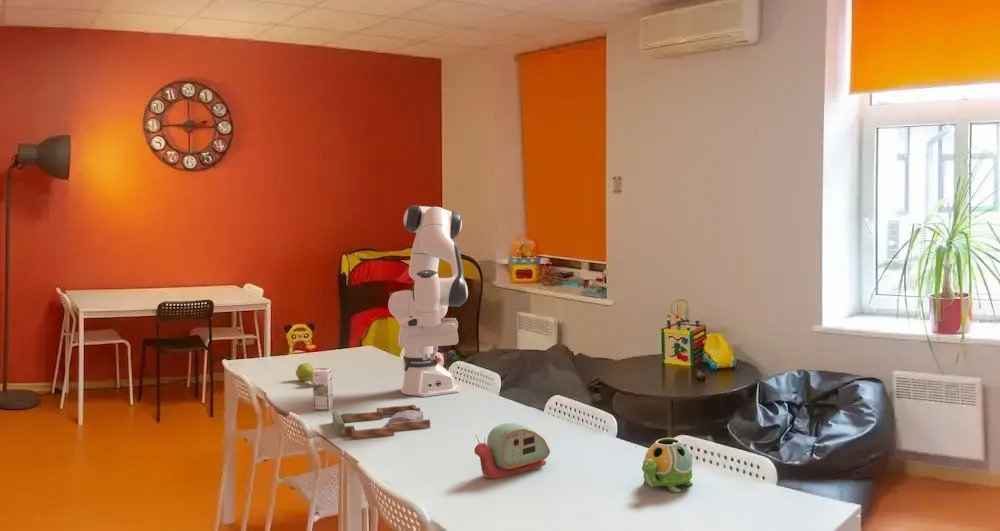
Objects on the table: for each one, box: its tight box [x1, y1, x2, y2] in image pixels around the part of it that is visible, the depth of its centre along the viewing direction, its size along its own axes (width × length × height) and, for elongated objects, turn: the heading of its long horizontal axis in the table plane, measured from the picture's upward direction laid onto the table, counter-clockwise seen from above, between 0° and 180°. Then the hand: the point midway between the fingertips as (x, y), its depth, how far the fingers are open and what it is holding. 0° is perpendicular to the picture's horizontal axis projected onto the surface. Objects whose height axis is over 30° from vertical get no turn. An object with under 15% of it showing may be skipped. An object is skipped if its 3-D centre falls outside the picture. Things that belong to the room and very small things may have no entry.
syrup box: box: [312, 367, 334, 411], centre depth 324 cm, size 6×6×14 cm
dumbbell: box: [295, 362, 315, 385], centre depth 365 cm, size 16×8×7 cm, turn 38°
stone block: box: [388, 410, 424, 423], centre depth 303 cm, size 12×5×10 cm
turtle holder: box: [641, 437, 694, 494], centre depth 237 cm, size 12×18×12 cm
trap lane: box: [331, 404, 431, 440], centre depth 301 cm, size 30×27×4 cm
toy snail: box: [474, 422, 551, 480], centre depth 252 cm, size 25×8×14 cm, turn 129°
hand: (428, 359), depth 304 cm, fingers closed
